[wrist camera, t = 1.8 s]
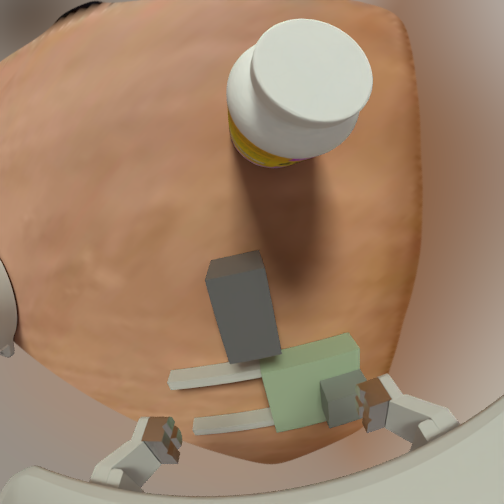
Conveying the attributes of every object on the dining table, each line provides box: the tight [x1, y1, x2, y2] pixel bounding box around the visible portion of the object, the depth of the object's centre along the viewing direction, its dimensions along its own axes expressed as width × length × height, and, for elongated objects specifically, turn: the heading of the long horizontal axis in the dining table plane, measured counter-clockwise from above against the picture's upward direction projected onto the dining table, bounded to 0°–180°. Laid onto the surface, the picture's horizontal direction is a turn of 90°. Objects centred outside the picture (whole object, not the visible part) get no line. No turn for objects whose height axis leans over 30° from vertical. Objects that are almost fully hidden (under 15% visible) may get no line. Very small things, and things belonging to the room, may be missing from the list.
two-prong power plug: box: [167, 333, 367, 435], centre depth 24 cm, size 18×9×6 cm, turn 102°
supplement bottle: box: [227, 19, 373, 168], centre depth 14 cm, size 7×7×13 cm
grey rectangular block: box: [205, 250, 282, 364], centre depth 21 cm, size 7×4×5 cm, turn 12°
